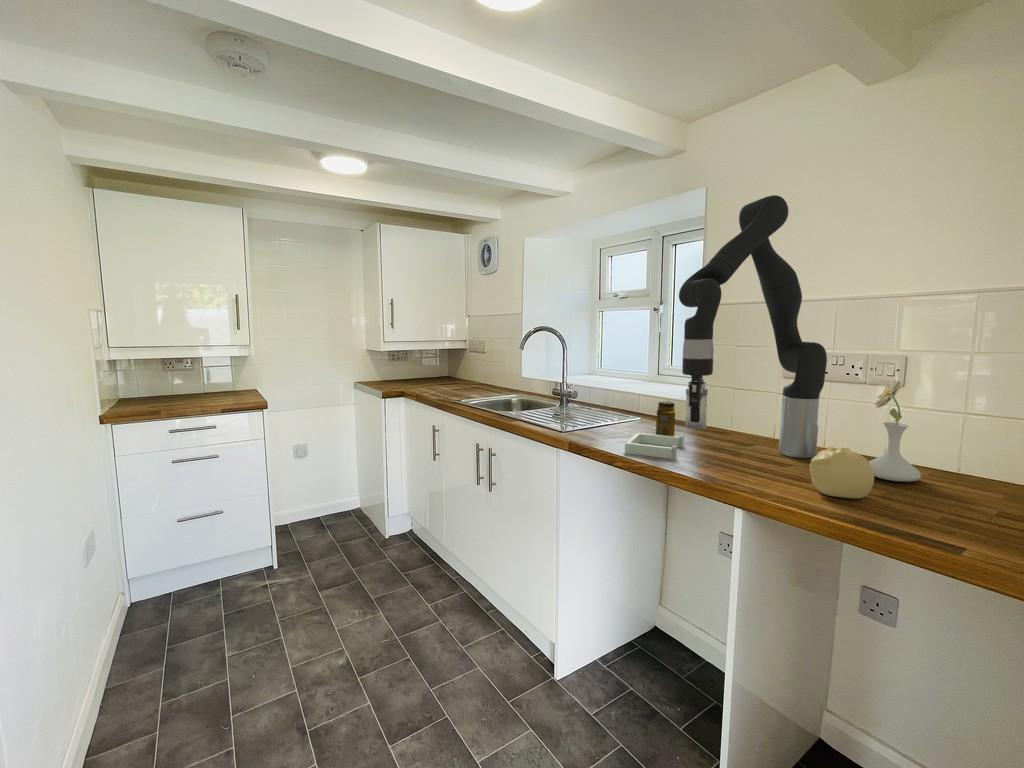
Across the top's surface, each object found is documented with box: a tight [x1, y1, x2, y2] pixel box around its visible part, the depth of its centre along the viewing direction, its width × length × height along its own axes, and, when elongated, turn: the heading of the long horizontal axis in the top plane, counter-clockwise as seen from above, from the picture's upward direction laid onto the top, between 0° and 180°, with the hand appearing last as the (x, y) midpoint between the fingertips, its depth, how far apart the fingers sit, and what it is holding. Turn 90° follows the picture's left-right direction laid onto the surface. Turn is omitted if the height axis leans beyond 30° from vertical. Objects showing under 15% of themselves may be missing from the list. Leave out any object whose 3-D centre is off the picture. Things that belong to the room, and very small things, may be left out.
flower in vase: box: [868, 379, 922, 483], centre depth 116 cm, size 13×11×25 cm
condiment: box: [655, 401, 679, 437], centre depth 162 cm, size 7×8×12 cm
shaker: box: [684, 387, 709, 430], centre depth 126 cm, size 5×5×10 cm
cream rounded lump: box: [809, 446, 875, 499], centre depth 106 cm, size 11×12×11 cm
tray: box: [624, 432, 685, 460], centre depth 145 cm, size 15×16×4 cm
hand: (696, 419), depth 127 cm, fingers closed on shaker, 5 cm apart
